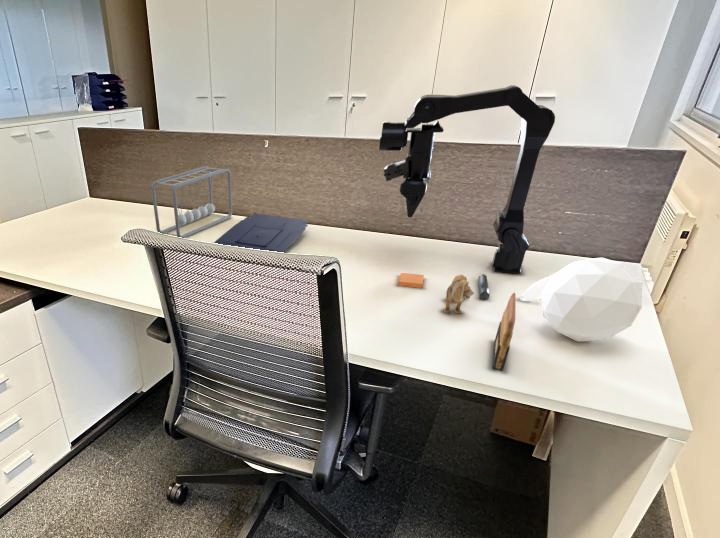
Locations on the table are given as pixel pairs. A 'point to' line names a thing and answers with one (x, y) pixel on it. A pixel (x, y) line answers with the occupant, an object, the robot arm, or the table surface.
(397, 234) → the table surface
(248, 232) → the navy blue flat slab
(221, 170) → the newton's cradle
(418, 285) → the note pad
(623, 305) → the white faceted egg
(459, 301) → the lion figurine
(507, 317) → the ammunition clip
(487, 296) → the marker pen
